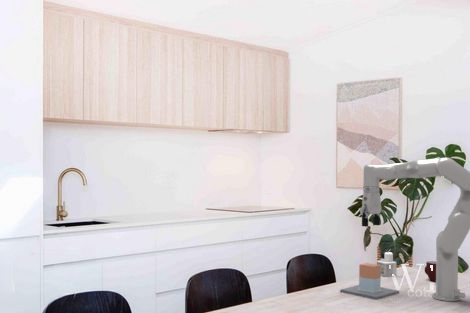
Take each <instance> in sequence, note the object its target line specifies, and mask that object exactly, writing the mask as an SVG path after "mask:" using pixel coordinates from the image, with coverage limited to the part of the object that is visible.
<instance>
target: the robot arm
mask: <svg viewBox="0 0 470 313" xmlns="http://www.w3.org/2000/svg"><path fill="white" fill-rule="evenodd" d="M436 177H444V178H445V179H446V180H448V181H449V182H451V183H452V184H454V185H455V186H456V187H458V189H459V191H460V193H459V198H458V199H457V202H456V204H455V205H454V207H453V209H452V211H451V212H450V214H449V216H448V218H447V224H446V226H445V228H444V229H443V230H441V231H439V233H438V235H437V237H436V242H435V244H436V245H435V247H436V248H435V251H436V282H435V292H434V293H432V294H431V295H432V296H431V297H432V298H433V299H435V300H438V301H444V302H458V301H460V300H462V299H466V296H467V295H466V293H465V292H460V288H459V287H458V286H459V284H458V277H459V275H458V273H459V249H460V248H461V247H462V244H463V243H464V241H465V239H466V237H467V235H468V234H469V232H470V170H468V169H466V168H465V167H463V166H462V165H460V164H459V163H458V162H456V161H455V160H454V159H452V158H451V157H448V156H447V157H446V156H445V157H437V158H425V159H417V160H412V161H407V162H399V163H388V164H382V165H381V164H380V165H378V164H365V165H364V166H363V182H362V183H363V191H362V192H363V193H362V202H361V204H362V206H361V207H360V208H359V213H360V214H359V215H360V216H361V227H369V218H368V217H369V215H373V217H372V218H373V219H372V225H374V226H380V224H381V223H380V221H381V220H380V218H381V214H382V209H383V207H382V202H381V201H382V200H381V194H380V180H382V181H391V180H396V179H398V180H399V179H425V178H436ZM458 288H459V289H458Z"/></svg>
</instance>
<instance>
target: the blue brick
mask: <svg viewBox="0 0 470 313" xmlns="http://www.w3.org/2000/svg"><path fill="white" fill-rule="evenodd" d="M358 278H359V280H358V282H359V283H358V285H359V289H361V290H366V291H370V292H375V291H379V290H380V287H381V277H380V278H378V279H368V278H363V277H358Z"/></svg>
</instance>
